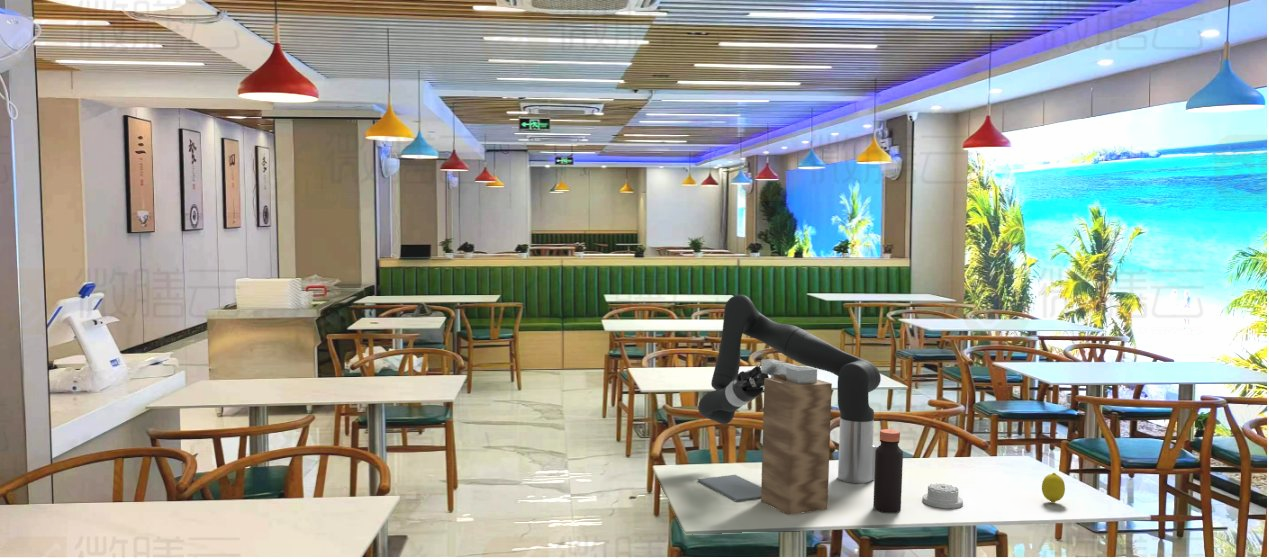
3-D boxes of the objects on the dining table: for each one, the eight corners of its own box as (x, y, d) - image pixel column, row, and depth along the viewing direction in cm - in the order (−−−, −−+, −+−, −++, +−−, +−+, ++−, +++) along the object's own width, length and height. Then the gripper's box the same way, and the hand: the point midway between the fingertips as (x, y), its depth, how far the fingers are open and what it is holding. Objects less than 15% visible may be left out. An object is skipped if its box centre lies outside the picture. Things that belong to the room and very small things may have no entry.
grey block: (775, 371, 256) (776, 358, 256) (816, 382, 240) (817, 369, 240) (757, 372, 253) (757, 359, 253) (797, 384, 237) (798, 370, 237)
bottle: (886, 514, 238) (889, 435, 236) (867, 507, 244) (870, 429, 242) (906, 511, 241) (909, 432, 240) (887, 503, 247) (890, 427, 246)
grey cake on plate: (966, 510, 244) (957, 498, 253) (967, 493, 243) (958, 482, 253) (926, 508, 245) (919, 497, 254) (927, 491, 244) (919, 480, 254)
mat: (735, 476, 270) (735, 474, 269) (775, 496, 252) (775, 494, 252) (698, 481, 264) (698, 479, 264) (737, 501, 246) (737, 499, 246)
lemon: (1064, 501, 252) (1065, 471, 251) (1063, 507, 247) (1065, 477, 246) (1041, 498, 254) (1042, 469, 253) (1040, 504, 249) (1042, 474, 248)
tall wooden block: (799, 495, 252) (803, 372, 250) (827, 509, 242) (831, 380, 239) (760, 501, 247) (764, 375, 245) (788, 514, 236) (792, 383, 234)
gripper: (718, 378, 263) (747, 356, 250) (762, 375, 269) (792, 353, 256) (725, 404, 260) (754, 383, 247) (769, 400, 266) (799, 379, 253)
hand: (773, 368), depth 252 cm, fingers open, 8 cm apart
